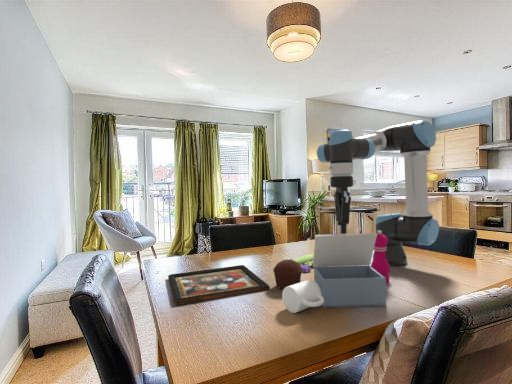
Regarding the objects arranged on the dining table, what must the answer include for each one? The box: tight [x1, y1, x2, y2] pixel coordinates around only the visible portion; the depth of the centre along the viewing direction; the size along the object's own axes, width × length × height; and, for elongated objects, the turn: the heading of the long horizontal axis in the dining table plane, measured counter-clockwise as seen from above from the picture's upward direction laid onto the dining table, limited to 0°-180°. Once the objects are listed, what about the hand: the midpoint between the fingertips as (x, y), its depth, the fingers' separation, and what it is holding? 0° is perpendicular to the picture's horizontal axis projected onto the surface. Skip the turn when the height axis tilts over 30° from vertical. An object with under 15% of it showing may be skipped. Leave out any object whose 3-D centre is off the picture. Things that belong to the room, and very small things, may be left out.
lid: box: [312, 232, 377, 268], centre depth 102 cm, size 21×14×1 cm
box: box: [313, 265, 387, 309], centre depth 98 cm, size 20×14×9 cm
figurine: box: [289, 253, 314, 273], centre depth 138 cm, size 18×27×6 cm
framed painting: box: [167, 264, 271, 307], centre depth 118 cm, size 38×35×3 cm
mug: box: [281, 279, 324, 314], centre depth 91 cm, size 12×10×8 cm
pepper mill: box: [370, 230, 391, 283], centre depth 115 cm, size 7×7×20 cm
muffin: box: [272, 259, 303, 291], centre depth 112 cm, size 12×11×10 cm
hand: (342, 242), depth 102 cm, fingers closed
